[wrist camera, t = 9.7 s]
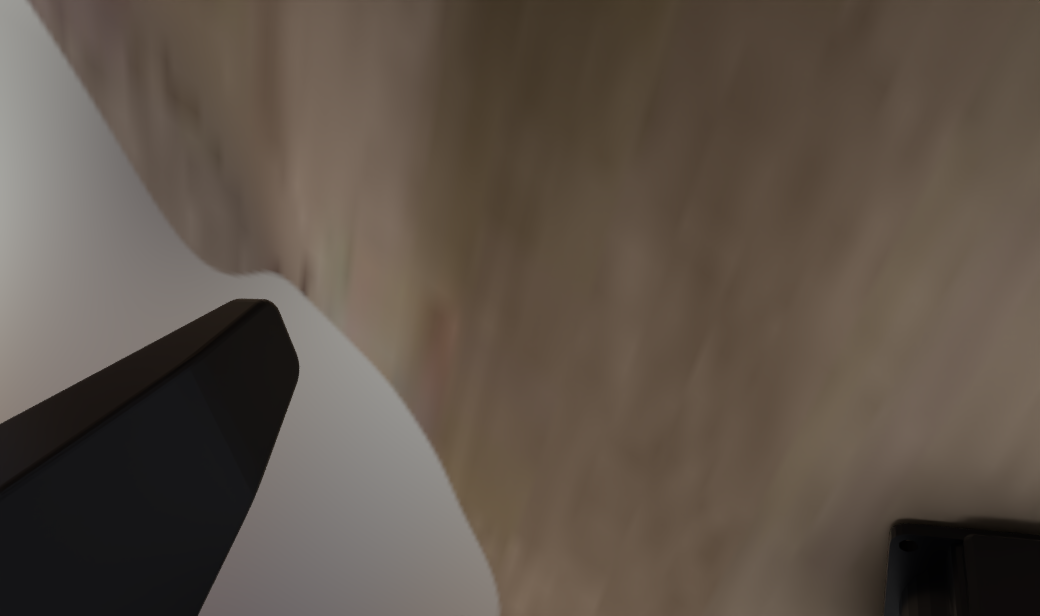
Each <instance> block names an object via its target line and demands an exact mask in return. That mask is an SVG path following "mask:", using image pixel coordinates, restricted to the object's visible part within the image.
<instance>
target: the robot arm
mask: <svg viewBox="0 0 1040 616" xmlns="http://www.w3.org/2000/svg"><path fill="white" fill-rule="evenodd" d="M298 376H299V361H298V357H297V354H296V351H295V349H294V346H293V344H292V342H291V339H290V337H289V334H288V332H287V329H286V327H285V324H284V322H283V320H282V317H281V314H280V312H279V310H278V308H277V307H276V306H275V305H274V303H272V302H271V301H268V300H266V299H236V300H233V301H230V302H228V303H226V304H224V305H222V306H220V307H219V308H217V309H215V310H213V311H211V312H209V313H208V314H205V315H204V316H202V317H200V318H198V319H196V320H194V321H193V322H190V323H189V324H187V325H185V326H183V327H181V328H179V329H177V330H175V331H174V332H172V333H170V334H168V335H166V336H164V337H163V338H160V339H159V340H157V341H155V342H153V343H151V344H149V345H147V346H145V347H144V348H142V349H140V350H138V351H136V352H134V353H132V354H131V355H129V356H127V357H125V358H123V359H121V360H119V361H117V362H115V363H114V364H112V365H110V366H108V367H106V368H104V369H102V370H101V371H99V372H97V373H95V374H93V375H91V376H89V377H87V378H85V379H84V380H82V381H80V382H78V383H76V384H74V385H72V386H70V387H69V388H67V389H65V390H63V391H61V392H59V393H57V394H55V395H54V396H52V397H50V398H48V399H46V400H44V401H42V402H40V403H39V404H37V405H35V406H33V407H31V408H29V409H27V410H25V411H24V412H22V413H20V414H18V415H16V416H14V417H12V418H10V419H9V420H7V421H5V422H3V423H1V424H0V616H198V614H199V613H200V610H201V608H202V606H203V604H204V602H205V600H206V598H207V596H208V594H209V592H210V590H211V588H212V586H213V584H214V582H215V580H216V578H217V576H218V573H219V571H220V569H221V567H222V565H223V563H224V561H225V559H226V557H227V555H228V553H229V551H230V548H231V547H232V545H233V543H234V541H235V538H236V536H237V534H238V532H239V530H240V528H241V526H242V524H243V522H244V520H245V518H246V516H247V514H248V511H249V509H250V507H251V505H252V502H253V500H254V498H255V495H256V493H257V490H258V488H259V485H260V483H261V480H262V477H263V475H264V472H265V470H266V467H267V464H268V461H269V459H270V456H271V453H272V450H273V447H274V445H275V442H276V439H277V436H278V433H279V431H280V428H281V425H282V423H283V420H284V417H285V414H286V412H287V409H288V406H289V403H290V401H291V398H292V395H293V392H294V390H295V387H296V384H297V381H298ZM906 540H911V541H906ZM883 616H1040V536H1037V535H1027V534H1016V533H1005V532H995V531H984V530H973V529H962V528H952V527H941V526H930V525H919V524H899V525H896V526H894V527H893V528H892V529H891V530H890V533H889V543H888V556H887V569H886V582H885V594H884V607H883Z"/></svg>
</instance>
